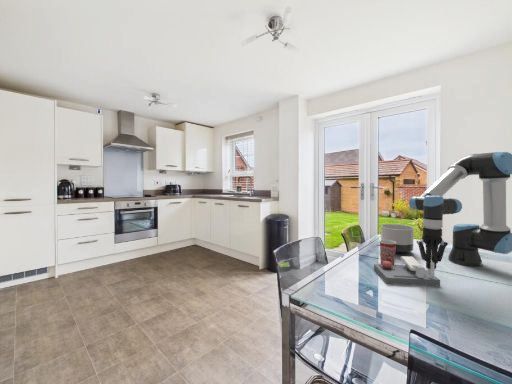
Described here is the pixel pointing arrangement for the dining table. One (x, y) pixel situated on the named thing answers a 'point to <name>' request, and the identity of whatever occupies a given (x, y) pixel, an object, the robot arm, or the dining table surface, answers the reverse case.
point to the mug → (387, 250)
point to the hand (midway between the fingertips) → (430, 274)
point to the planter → (399, 236)
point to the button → (387, 264)
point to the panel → (404, 276)
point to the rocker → (410, 262)
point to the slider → (420, 271)
